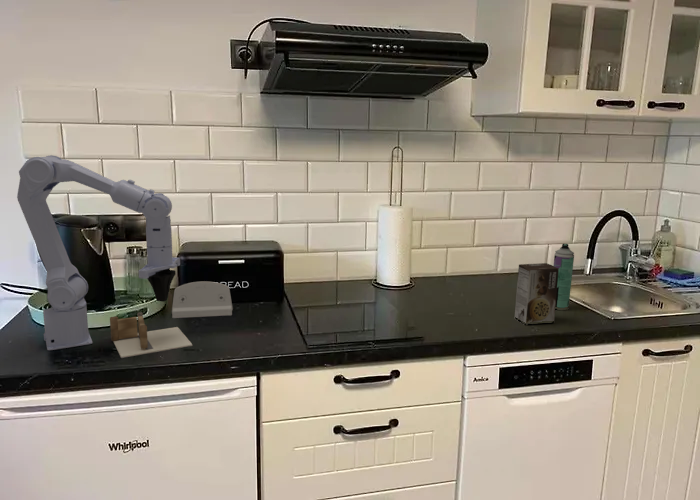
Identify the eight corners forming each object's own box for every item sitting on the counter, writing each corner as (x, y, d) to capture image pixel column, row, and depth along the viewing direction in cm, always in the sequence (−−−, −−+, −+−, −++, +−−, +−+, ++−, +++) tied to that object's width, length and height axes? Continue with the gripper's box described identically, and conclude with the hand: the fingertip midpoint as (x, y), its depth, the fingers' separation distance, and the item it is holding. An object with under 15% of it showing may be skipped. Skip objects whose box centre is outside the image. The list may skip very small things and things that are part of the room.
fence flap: (137, 334, 137) (136, 312, 136) (144, 333, 138) (143, 312, 137) (140, 349, 128) (139, 326, 127) (148, 348, 128) (146, 325, 127)
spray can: (564, 305, 172) (571, 242, 168) (571, 311, 167) (578, 246, 163) (546, 305, 172) (553, 242, 168) (552, 310, 167) (559, 245, 163)
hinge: (170, 318, 152) (170, 281, 153) (172, 318, 156) (172, 283, 158) (233, 315, 156) (232, 279, 157) (232, 315, 160) (231, 281, 162)
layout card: (121, 357, 124) (121, 356, 124) (111, 338, 136) (111, 336, 136) (192, 345, 133) (192, 344, 132) (177, 328, 144) (177, 326, 144)
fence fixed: (111, 341, 133) (110, 319, 132) (110, 339, 134) (109, 317, 133) (138, 337, 136) (136, 315, 135) (136, 335, 138) (135, 313, 136)
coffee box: (541, 316, 161) (546, 262, 158) (554, 324, 155) (560, 267, 152) (513, 318, 159) (518, 263, 156) (525, 325, 153) (530, 269, 149)
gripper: (156, 252, 124) (159, 310, 126) (190, 241, 138) (192, 294, 140) (129, 250, 125) (132, 307, 128) (164, 239, 139) (167, 291, 142)
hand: (161, 300), depth 134 cm, fingers closed
